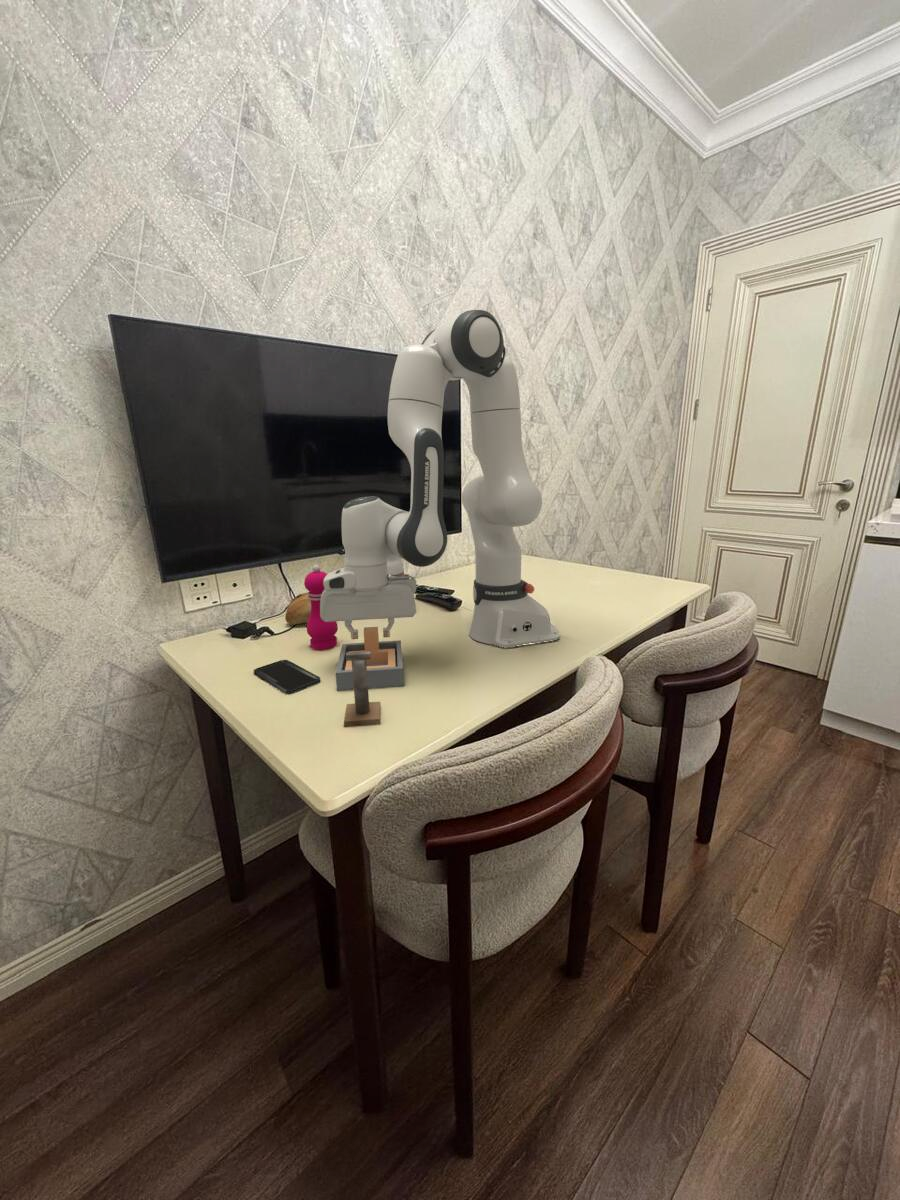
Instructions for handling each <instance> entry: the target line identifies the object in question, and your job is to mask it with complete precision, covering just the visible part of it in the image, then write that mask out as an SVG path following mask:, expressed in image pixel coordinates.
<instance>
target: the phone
mask: <svg viewBox="0 0 900 1200" xmlns="http://www.w3.org/2000/svg"><path fill="white" fill-rule="evenodd" d="M253 674H254V676H256V677H257V678H259V679H260V678H261V679H260V680H262V681H264V682H265V683H266V684H268V683H269V684H268V685H270V686H272V687H273V688H275V689H276V688H277V690H278V691H279V690H280V692H281V693H282V694H284V693H285V694H284V695H287V694H288V695H293V694H295V692H296V693H298V692H301V691H304V690H305V689H309V688H311V687H314V686H316V685H318V683H319V684H320V683H321V682H322V681H321V677H320V676H318V675H316V674H314V673H313V672H311V671H309V670H307V669H305V668H303V667H302V666H299V665H298V664H296V663H295V662H292V661H290V660H289V659H280V660H278V661H274V662H272V663H269V664H265V665H262V666H259V667H257V668H255V669H253ZM308 687H309V688H308Z"/></svg>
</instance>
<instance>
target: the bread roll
mask: <svg viewBox="0 0 900 1200" xmlns="http://www.w3.org/2000/svg"><path fill="white" fill-rule="evenodd" d="M310 613H311V601H310V599H308V592H304V593H300V594H297V595H296V596H294V598H292V600H291V601H290V603H289V604H288V605H287V608H286V612H285V621H286V623H287V624H288V625H299V624H300V625H301V624H307V623H308V620H309V617H310Z"/></svg>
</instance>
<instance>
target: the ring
mask: <svg viewBox="0 0 900 1200" xmlns="http://www.w3.org/2000/svg"><path fill="white" fill-rule="evenodd" d="M379 642H380V637H379V626H366V627H364V628H363V643H364V645H365V650H362V651H349V652H364V651H370V654H371V659H368V660H366V664H369V663H384V662H388V665H381V666H366V668H367V669H369V668H384V667H396V659H395V649H379ZM345 670H352V661H347V662H346V667H345Z"/></svg>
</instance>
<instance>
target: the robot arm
mask: <svg viewBox="0 0 900 1200" xmlns="http://www.w3.org/2000/svg"><path fill="white" fill-rule="evenodd" d="M504 342H505V341H504V336H503V332H502V329H501V326H500V324H499V322H498V319H496V318H495V316H494V315H493V314H491V313H490V312H489V311H486V310H483V309H471V310H470V309H469V310H466V311H464V312H462V313H461V314H458V315H455V316H452V317H451V318H449V319H447V320H445V321H444V322H442V324H441V325H439V326H438V327H437V328H435V329H433V330H431V331H430V332H428V334H427V335H426V336H425V338H424V339H423V341H422V342H421V343H415V344H414V343H413V344H410V345H407V346H405V347H403V348H402V349H401V350H400V351H399V352H398V354H397V357H396V360H395V364H394V367H393V372H392V375H391V380H390V381H391V382H390V388H389V393H388V394H389V395H388V403H387V427H388V435H389V437H390V438H391V440H392V442H393V443H394V444H395V446H397V447H398V448H399V449H400V450H401V451H402V452H403V454H405V456H406V458H407V460H408V463H409V466H410V473H411V474H410V503H409V504H410V508H409V511H407V510H403V509H400V508H397V507H395V506H392V505H391V504H388V503H387V502H385V501H383V500H382V499H381V498H380V497H378V496H374V495H373V496H371V495H369V496H360V497H357V498H354V499H351V500H349V501H348V502H346V503H345V504H344V505H343V508H342V511H341V540H342V541H341V542H342V546H343V547H344V552H345V553H344V559H343V566H344V567H342V568H339V569H337V570H333V571H331V572H328V573H327V575H326V576H325V578H324V581H323V584H324V588H325V589H324V591H323V593H322V595H321V601H320V616H321V619H322V620H323V621H324V622H333V621H336V622H344V627H345V628H346V630H348V632H349V633H350V639H351V640H358V639H359V629H357V628H356V629H355V628H354V627H353V625H352V623H353V621H364V620H365V621H366V620H383V619H387V623H388V624H387V626H386V627H383V628H382V632H383V635H382V636H383V637H382V638H391V630H392V628H393V625H394V624H395V619H399V618H400V619H401V618H402V619H403V618H413V617H414V616H415V615H416V614H417V606H416V599H415V594H416V592H417V590H418V589H417V580H416V578H415V577H414V576H411V575H410V574H407V573H404V574H403V575H388V571H387V557H388V556H389V555H396V556H398V557H401V559H402V560H405V561H406V562H407V563H409V564H411V565H413V566H415V567H419V568H420V567H421V568H424V567H428V566H432V565H433V564H435V563H436V562H438V560H439V559H441V557H442V555H443V554H444V553H445V550H446V549H447V546H448V545H447V544H448V532H447V527H446V524H445V523H446V522H445V519H444V508H443V506H444V476H445V475H444V474H445V473H444V472H445V469H444V468H445V467H444V466H445V459H444V456H445V453H444V444H443V438H442V425H443V424H442V423H443V421H442V420H443V411H444V410H443V408H444V398H445V397H444V396H445V392H446V391H445V390H446V388H447V384H449V383H451V382H453V381H458V380H463V381H464V383H465V385H466V387H467V390H468V393H469V408H470V409H469V413H470V414H469V415H470V431H471V432H470V433H471V443H472V445H471V446H472V447H471V448H472V451H473V453H474V455H475V456H476V458H477V461H478V462H479V463H478V464H480V465H479V466H480V468H481V472H482V474H483V475H480V476H478V477H476V478H473V479H471V480H469V481H468V482H467V483H466V484H465V486H464V487H463V490H462V492H461V503H462V506H463V508H464V510H465V511H466V514H467V516H468V520H469V524H470V530H471V533H472V538H473V544H474V552H475V556H474V557H475V579H474V580H473V587H472V590H473V591H472V593H473V595H472V596H473V598H472V599H473V603H474V609H473V616H472V622H471V625H470V628H469V632H468V635H469V637H470V638H471V639H472V640H474V641H477V642H479V643H483V644H487V645H492V644H494V645H493V646H496V645H497V646H496V647H498V646H500V647H499V648H501V647H502V649H508V648H507V647H511V648H514V647H513V646H517V645H523V644H529V643H537V642H544V641H551V640H557V639H560V638H559V636H560V630H559V629H558V628H557V627H556V626H555V625H554V624H553V623H551V618H550V614H549V612H548V609H547V608H546V607H544V606H543V605H542V604H541V603H540V602H539V601H537V600H536V599H534V598H533V597H532V596H530V595H531V594H533V593H534V592H535V589H536V588H535V586H534V585H532V584H531V583H528V582H527V581H525V580H524V579H522V548H521V545H520V544H519V542H518V540H517V538H516V535H515V531H514V528H515V527H523V526H528V525H530V524H531V523H532V522H534V521H535V520H536V519H537V518H538V517H539V515H540V513H541V510H542V507H543V497H542V493H541V491H540V489H539V487H538V486H537V485H536V484H535V482H534V480H533V479H532V477H531V474H530V471H529V467H528V464H527V462H526V461H527V460H526V457H525V454H524V453H525V452H524V448H523V441H522V440H523V438H522V420H521V419H522V417H521V416H522V413H521V397H520V394H521V393H520V387H519V380H518V376H517V375H518V374H517V371H516V367H515V364H514V362H513V361H512V360H511V359H510V358H509V357H506V347H505V343H504ZM388 580H389V582H388ZM557 641H558V640H557ZM503 647H504V648H503Z"/></svg>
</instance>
